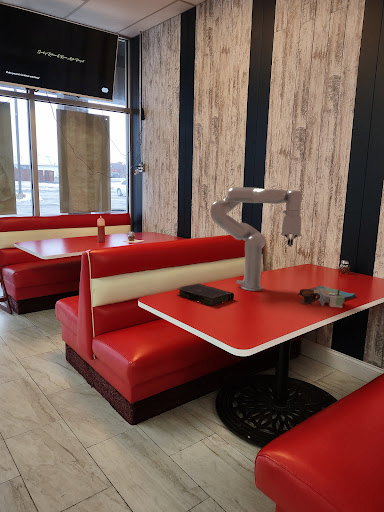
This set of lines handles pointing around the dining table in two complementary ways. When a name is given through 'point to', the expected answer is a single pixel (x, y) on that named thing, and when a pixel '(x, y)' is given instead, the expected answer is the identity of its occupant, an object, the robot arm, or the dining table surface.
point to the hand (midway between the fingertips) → (289, 246)
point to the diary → (205, 294)
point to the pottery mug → (308, 296)
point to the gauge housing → (335, 300)
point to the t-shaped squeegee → (326, 297)
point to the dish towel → (330, 290)
